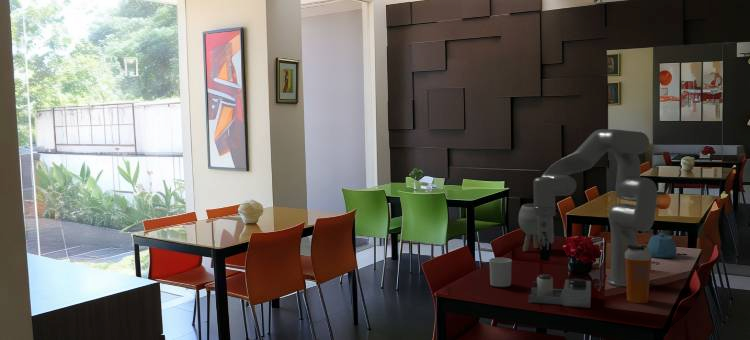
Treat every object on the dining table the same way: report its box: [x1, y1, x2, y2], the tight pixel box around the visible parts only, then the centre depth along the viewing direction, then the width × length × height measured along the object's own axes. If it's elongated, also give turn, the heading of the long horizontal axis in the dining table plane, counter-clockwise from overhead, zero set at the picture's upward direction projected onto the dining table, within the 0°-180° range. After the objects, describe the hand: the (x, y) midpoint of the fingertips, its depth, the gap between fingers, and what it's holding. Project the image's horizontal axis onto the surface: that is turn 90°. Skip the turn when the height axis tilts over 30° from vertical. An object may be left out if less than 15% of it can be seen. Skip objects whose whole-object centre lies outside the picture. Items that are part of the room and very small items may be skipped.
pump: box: [532, 273, 554, 296], centre depth 241 cm, size 7×6×9 cm
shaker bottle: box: [625, 244, 652, 304], centre depth 235 cm, size 9×9×20 cm
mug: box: [488, 257, 513, 289], centre depth 261 cm, size 11×9×10 cm
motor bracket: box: [528, 278, 592, 309], centre depth 240 cm, size 21×17×8 cm
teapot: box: [646, 232, 678, 259], centre depth 303 cm, size 13×11×18 cm
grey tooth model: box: [517, 203, 539, 252], centre depth 322 cm, size 16×16×22 cm
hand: (546, 257), depth 240 cm, fingers open, 9 cm apart
